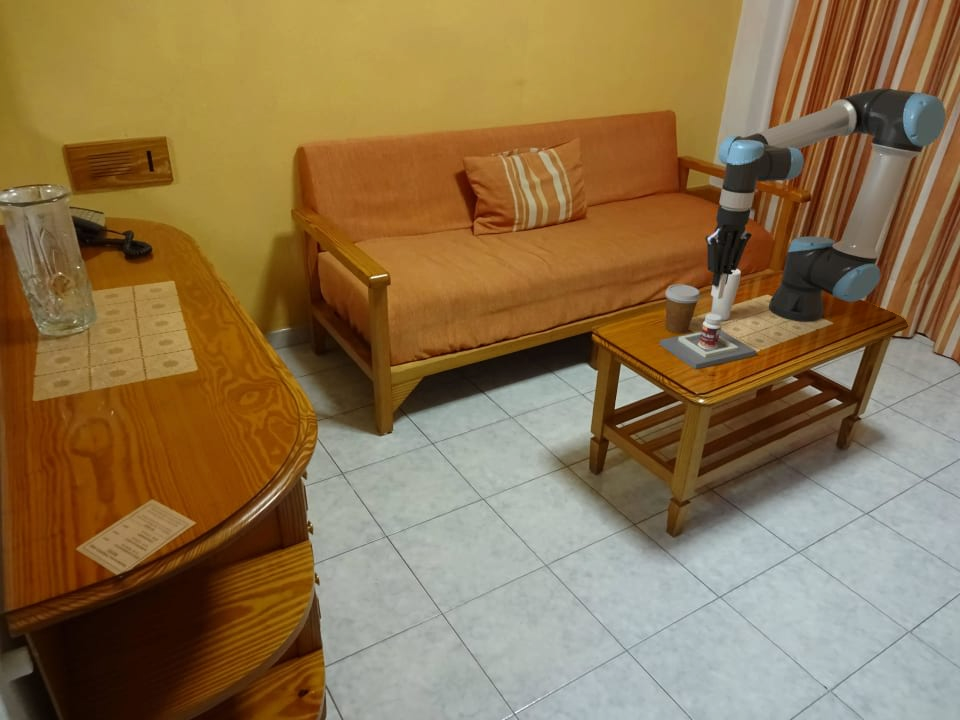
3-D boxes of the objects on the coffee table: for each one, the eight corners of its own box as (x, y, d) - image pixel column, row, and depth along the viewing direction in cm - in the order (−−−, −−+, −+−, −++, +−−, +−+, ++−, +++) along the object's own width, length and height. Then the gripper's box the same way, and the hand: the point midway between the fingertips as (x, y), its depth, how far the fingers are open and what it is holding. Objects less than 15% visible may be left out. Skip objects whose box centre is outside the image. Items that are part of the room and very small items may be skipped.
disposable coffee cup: (669, 319, 202) (675, 281, 196) (699, 328, 196) (706, 289, 191) (653, 329, 195) (659, 290, 189) (684, 339, 190) (692, 299, 184)
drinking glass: (734, 322, 200) (744, 274, 193) (711, 322, 200) (720, 274, 193) (727, 313, 206) (737, 266, 199) (705, 312, 206) (714, 266, 199)
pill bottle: (695, 345, 183) (701, 316, 179) (703, 339, 186) (709, 311, 182) (712, 350, 180) (718, 321, 176) (720, 344, 183) (726, 316, 180)
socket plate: (716, 332, 194) (718, 325, 193) (755, 355, 182) (757, 347, 180) (659, 344, 186) (660, 336, 185) (695, 369, 174) (697, 360, 173)
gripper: (744, 200, 171) (726, 288, 182) (703, 205, 166) (687, 294, 177) (766, 208, 165) (746, 298, 176) (724, 213, 160) (706, 305, 171)
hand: (716, 296), depth 177 cm, fingers closed
